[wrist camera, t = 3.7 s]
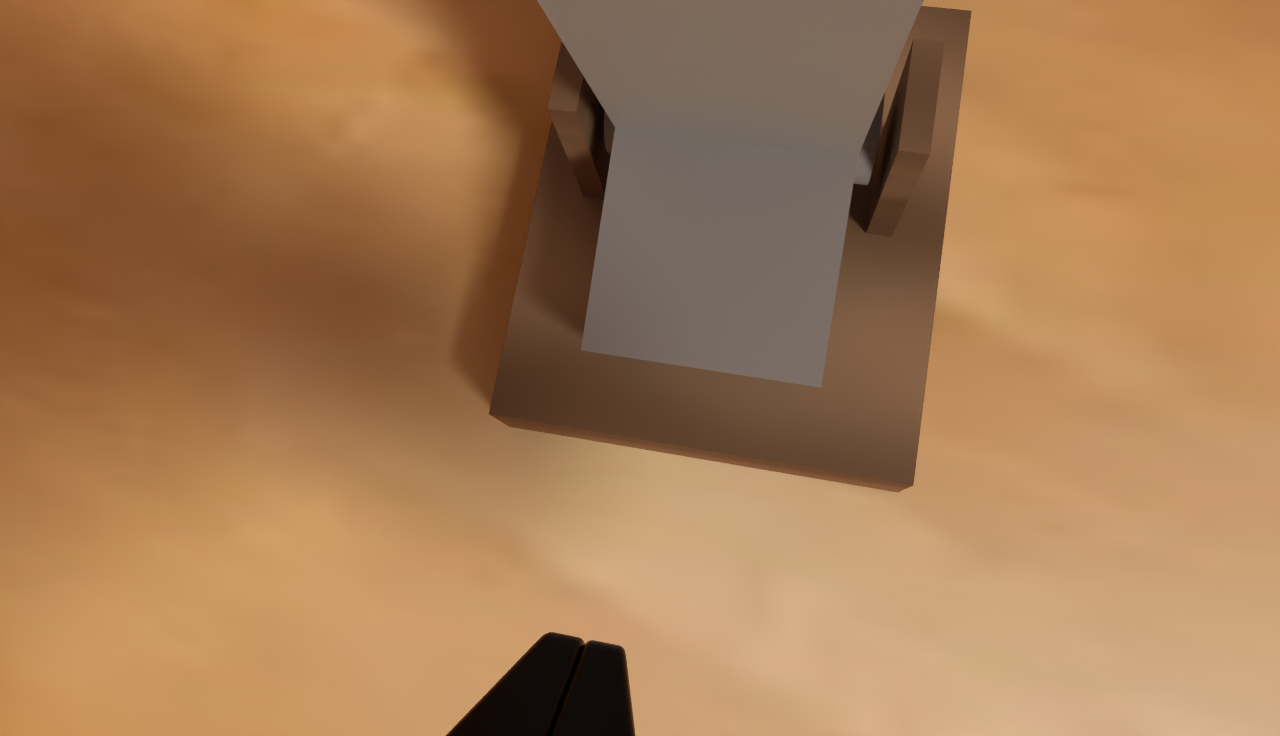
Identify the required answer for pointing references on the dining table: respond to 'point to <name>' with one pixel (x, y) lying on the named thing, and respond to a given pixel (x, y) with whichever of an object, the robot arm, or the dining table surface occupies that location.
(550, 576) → the dining table surface
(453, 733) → the robot arm
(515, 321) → the base
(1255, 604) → the dining table surface
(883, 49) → the lever
